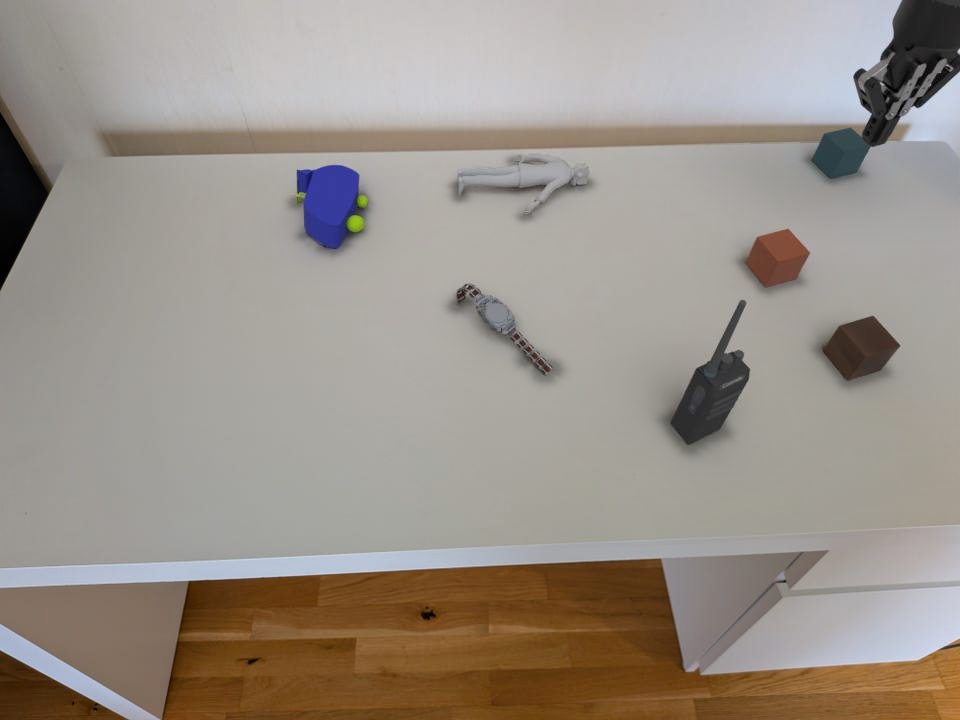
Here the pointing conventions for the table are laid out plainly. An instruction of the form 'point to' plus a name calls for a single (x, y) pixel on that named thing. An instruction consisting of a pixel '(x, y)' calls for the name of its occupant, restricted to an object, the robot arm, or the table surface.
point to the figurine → (526, 175)
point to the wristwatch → (501, 322)
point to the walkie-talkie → (713, 389)
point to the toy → (330, 203)
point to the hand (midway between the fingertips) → (872, 141)
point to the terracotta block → (777, 257)
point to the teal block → (840, 152)
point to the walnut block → (860, 347)
